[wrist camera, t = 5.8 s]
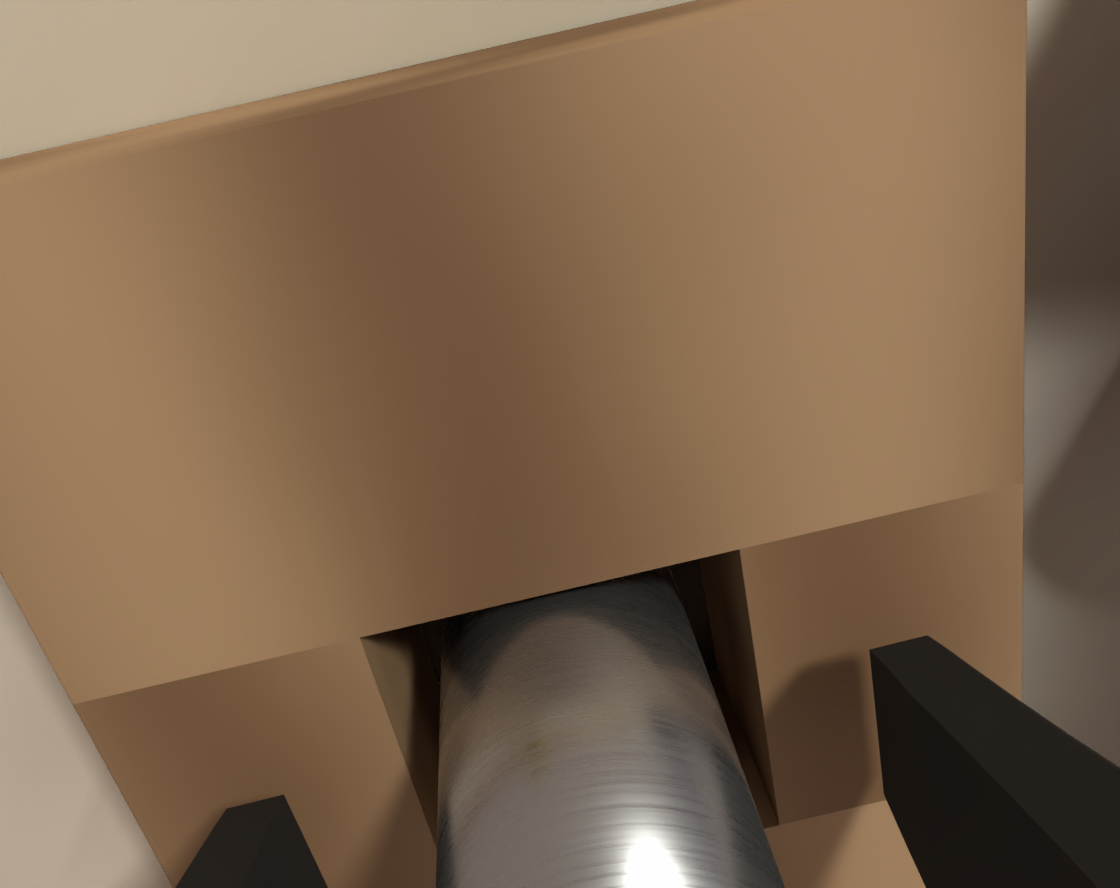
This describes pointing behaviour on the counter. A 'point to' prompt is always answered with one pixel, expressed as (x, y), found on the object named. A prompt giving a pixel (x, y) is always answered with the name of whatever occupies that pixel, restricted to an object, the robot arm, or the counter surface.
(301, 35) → the counter surface
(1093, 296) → the counter surface
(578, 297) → the hole block
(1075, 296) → the counter surface
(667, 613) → the pin tall
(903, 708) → the robot arm
